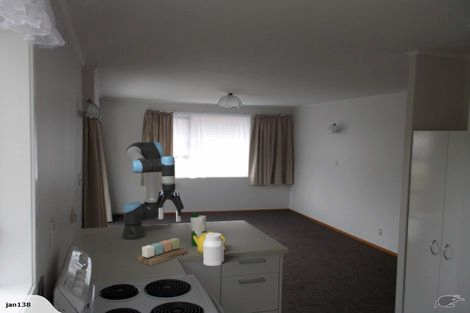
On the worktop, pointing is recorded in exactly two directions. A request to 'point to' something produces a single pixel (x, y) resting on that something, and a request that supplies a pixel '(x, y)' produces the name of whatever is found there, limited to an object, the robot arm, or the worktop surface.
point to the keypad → (160, 257)
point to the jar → (213, 249)
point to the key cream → (148, 251)
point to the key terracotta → (166, 246)
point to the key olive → (175, 243)
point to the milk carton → (197, 226)
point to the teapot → (201, 240)
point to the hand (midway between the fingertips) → (169, 220)
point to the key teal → (157, 248)
